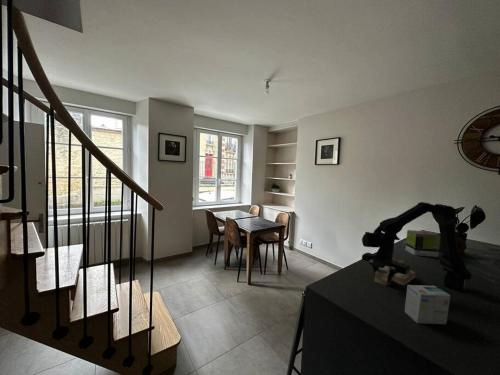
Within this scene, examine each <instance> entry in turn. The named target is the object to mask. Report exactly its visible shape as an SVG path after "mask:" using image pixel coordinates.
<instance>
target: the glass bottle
mask: <svg viewBox="0 0 500 375" xmlns="http://www.w3.org/2000/svg"><path fill="white" fill-rule="evenodd" d="M453 229H454V234H455V240H456V245H457V250H458V254H459V255H460V254H463V253H464V252H465V251H466V249H467V243H466V241H465V240H464V239H463V238H462V237H460V236H458V234H457V230H456V220H455V221H454V222H453ZM437 234H438V235H440V233H437ZM439 252H442V253H444V251H443V245H442V240H441V235H440V246H439Z"/></svg>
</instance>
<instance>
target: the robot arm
mask: <svg viewBox="0 0 500 375" xmlns="http://www.w3.org/2000/svg"><path fill="white" fill-rule="evenodd" d="M456 212H457V211H456V209H455V207H453V206H450V205H447V204H441V203H436V204H431V203H429V202H424V201H421V202H418V203H417V204H416V205H415V206H412V207H411V208H409V209H407V210H406V211H404V212H402V213H401V214H399V215H397V216H395V217H390V218H385V219H384V220H382V221H381V222H379V225H378V226H377V227H376V228H375V229H374V230H373V232H369V231H365V233H364V234H363V236H362V238H361V243H362V245H363V247H365V248H366V247H367V248H378V249H377V252H376V254H375V253H371V252H364V253H363V254H362V255H361V260H363V261H366V262H368V264H369V265H370V266H371V267H372V269H373V272H374V273H373V274H375V272H376V271H377V270H379V268H384V267H385V266H388V267H389V266H390V267H392V269H390V270H389V272H390V273H389V278H388V283H390V284H391V282H390V281H392V278H393V277H394V275H395V274H396V273H401V274H404V275H406V274H407V273H409V272H410V271H411V267H410V266H409V265H408V264H406V263H405V264H402V263H399V264H394V263H392V262H393V258H394V254H395V241H400V240H401V238H400V237H399V236H398V233H400V232H401V231H402V230H403V228H404V226H406V225H407V224H410V223H411V222H413V221H414V220H416V219H418V218H420V217H422V216H423V215H425V214H426V213H431V215H432V217H433V219H434V220H435V221H436V223H437V224H438V229H439V230H438V231H439V234H440V235H441V240H442V245H443V251H444V252H442V255H439V256H438V259H439V264H440V265H441V267H442V268H443V271H445V272H446V274H444V279H443V284H444V285H443V286H444V287H446V288H449V289H452V290H454V291H457V292H460V293H463V292H464V291H465V289H466V281H468V280H471V278H472V274H471V273H470V271H469V270H468V268H467V266H466V263H465V261H464V259H463V257H462V256H461V255H460V254H458V250H457V245H456V240H455V234H454V229H453V222H454V221H455V222H456V219H457V218H456V217H457V213H456Z"/></svg>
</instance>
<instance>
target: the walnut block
mask: <svg viewBox="0 0 500 375" xmlns="http://www.w3.org/2000/svg"><path fill="white" fill-rule="evenodd" d="M392 263H394V264H399V263H402V264H405V265H406V261H405V260H402V259H400V258H396V257H393V262H392ZM389 269H392V267H390V266H389Z"/></svg>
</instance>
